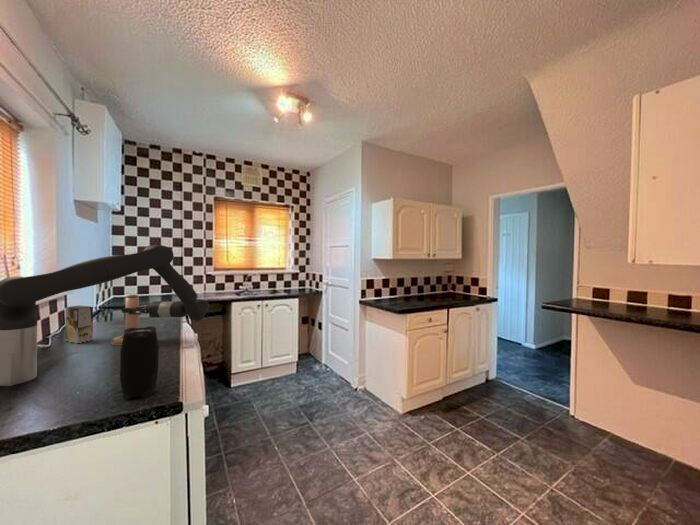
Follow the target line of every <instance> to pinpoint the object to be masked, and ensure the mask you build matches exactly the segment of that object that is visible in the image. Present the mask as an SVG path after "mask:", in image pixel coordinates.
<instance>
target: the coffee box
mask: <svg viewBox="0 0 700 525" xmlns="http://www.w3.org/2000/svg"><path fill="white" fill-rule="evenodd" d="M64 321H65V334H64V336H65V337H64V338H65V339H64V340H65V341H69V342H68V343H70V342H74V343H73V344H77V343H80V344H83V343H82V342H84V343H87V342H86V341H88V342H91V341H90V340H92V341H93V339H94V338H93V334H94V330H93V329H94V322H93V321H94V306H88V305H75V306H74V305H73V306H68V307H67V306H66V307H65V320H64Z"/></svg>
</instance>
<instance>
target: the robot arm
mask: <svg viewBox="0 0 700 525" xmlns="http://www.w3.org/2000/svg"><path fill="white" fill-rule="evenodd" d="M174 258H175V257H174V251H173V250H172V249H171V248H170V247H168V246H166V245H162V244H151V245H148V246H146V247H145V248H144V249H143V251H139V252H134V253H129V254H118V255H109V256H108V255H107V256H102V257H97V258H93V259H89V260H85V261H82V262H77V263H75V264H72V265H70V266H66V267H64V268H62V269H59V270H56V271H53V272H48V273H43V274H38V275H37V274H36V275H31V276H21V275H20V276H17V275H14V276H8V277H6V278H3V279H1V280H0V387H11V386H15V385H19V384H24V383H26V382H27V383H28V382H30V381H32V380H35V379H36V378H37V375H38V374H37V373H38V372H37V370H38V368H37V367H38V366H37V365H38V315H37V302H38V301H41V300H44V299H46V298H50V297H52V296H55V295H59V294H61V293H62V294H63V293H66V292H70V291H75V290H81V289H85V288H88V287H93V286H97V285H101V284H105V283H107V282H110V281H114V280H118V279H120V278H123V277H124V278H125V277H127V276H129V275H133V274H136V273H138V272H143V271H147V270H153V271H155V273H157V274H158V275H159V276H160V278H162V280H163V281H165V283H166V284H167V285H168V286H169V288H170V289H171V291H173V292H174V294H175V295H176V297H177V298H178V299H179V302H178V301H174V302H172V301H152V302H151V303H150V304H141V305H140V304H139V306H137V307H136V308H126V307H122V308H121V313H122V314H126V313H129V314H134V315H139V316H140V315H148V314H149V316H150V317H151V318H154V319H155V318H156V319H157V318H161V319H162V318H163V319H164V318H165V319H168V318H185V317H186V316H188V318H190V319H191V320H193V321H195V322H198V321H199V322H200V321H202V320H203V319H204V318H205V316H206V314H207V313H208V311H209V309H210V304H209V302H208V301H206V300H205V299H200V298H199V299H198V294H197V292H196V290H195V289H194V288H193V286H192V285H191V284H190V283H189V282H188V281H187V280H186V278H184V277H183V275H181V274H180V273H179V272H178V271H177V270H176V269H175V268H174V267H173V266H172V264H171V263H172V261H173V259H174ZM180 301H181V302H180ZM138 308H139V309H138Z"/></svg>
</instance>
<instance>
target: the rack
mask: <svg viewBox="0 0 700 525" xmlns="http://www.w3.org/2000/svg"><path fill="white" fill-rule="evenodd" d="M123 337H124V334H122V335H120V336H119V335H118V336H117V337H114V338H111V339H110V340H111V341H110V345H111V344H112V345H111V346H122V341H123Z"/></svg>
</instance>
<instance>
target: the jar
mask: <svg viewBox="0 0 700 525" xmlns="http://www.w3.org/2000/svg"><path fill="white" fill-rule="evenodd" d="M137 306H140V297H139V296H138V294H127V296H126V297H125V308H136V307H137ZM138 309H139V308H138ZM124 328H125V329H128V328H140V315H134V314H129V313H125V327H124Z"/></svg>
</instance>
